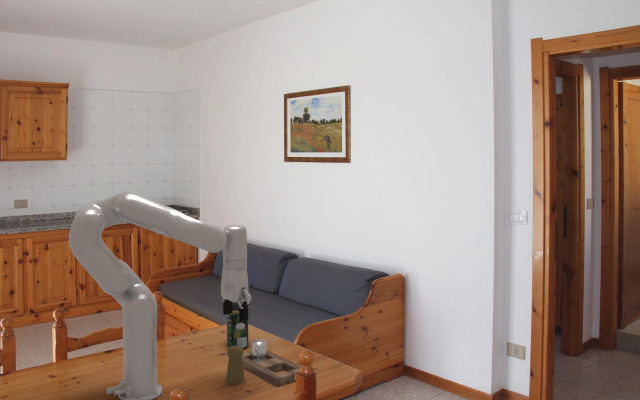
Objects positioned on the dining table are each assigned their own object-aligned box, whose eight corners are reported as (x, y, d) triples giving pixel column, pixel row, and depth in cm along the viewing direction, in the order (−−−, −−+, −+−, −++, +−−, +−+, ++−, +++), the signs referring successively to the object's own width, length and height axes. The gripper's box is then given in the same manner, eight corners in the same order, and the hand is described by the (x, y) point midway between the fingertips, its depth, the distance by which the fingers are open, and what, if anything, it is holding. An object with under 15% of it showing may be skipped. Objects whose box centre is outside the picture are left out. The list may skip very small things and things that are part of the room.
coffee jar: (224, 342, 213) (224, 295, 212) (244, 340, 216) (245, 294, 215) (229, 350, 204) (229, 301, 203) (250, 348, 207) (250, 300, 205)
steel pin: (257, 367, 187) (257, 344, 187) (249, 363, 191) (249, 341, 191) (269, 364, 190) (269, 342, 190) (261, 360, 194) (261, 338, 194)
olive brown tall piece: (240, 385, 172) (241, 350, 172) (222, 383, 174) (222, 349, 173) (247, 377, 178) (247, 344, 178) (229, 376, 180) (229, 343, 179)
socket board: (276, 386, 171) (276, 378, 171) (233, 362, 192) (233, 355, 192) (308, 377, 179) (308, 369, 179) (263, 355, 200) (263, 348, 200)
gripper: (211, 261, 178) (212, 313, 179) (239, 269, 165) (239, 325, 166) (231, 259, 183) (232, 309, 184) (260, 266, 170) (260, 321, 171)
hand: (235, 317), depth 175 cm, fingers open, 9 cm apart
